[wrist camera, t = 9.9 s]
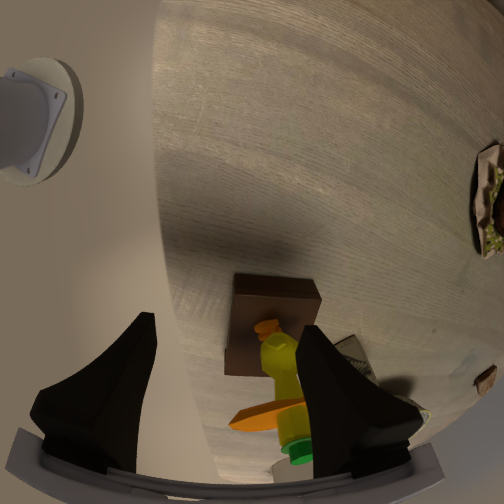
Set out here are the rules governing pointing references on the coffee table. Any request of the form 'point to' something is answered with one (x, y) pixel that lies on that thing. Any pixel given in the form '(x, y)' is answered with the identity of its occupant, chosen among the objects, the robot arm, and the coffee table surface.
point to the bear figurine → (490, 200)
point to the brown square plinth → (266, 317)
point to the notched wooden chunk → (486, 381)
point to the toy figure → (280, 396)
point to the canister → (291, 471)
